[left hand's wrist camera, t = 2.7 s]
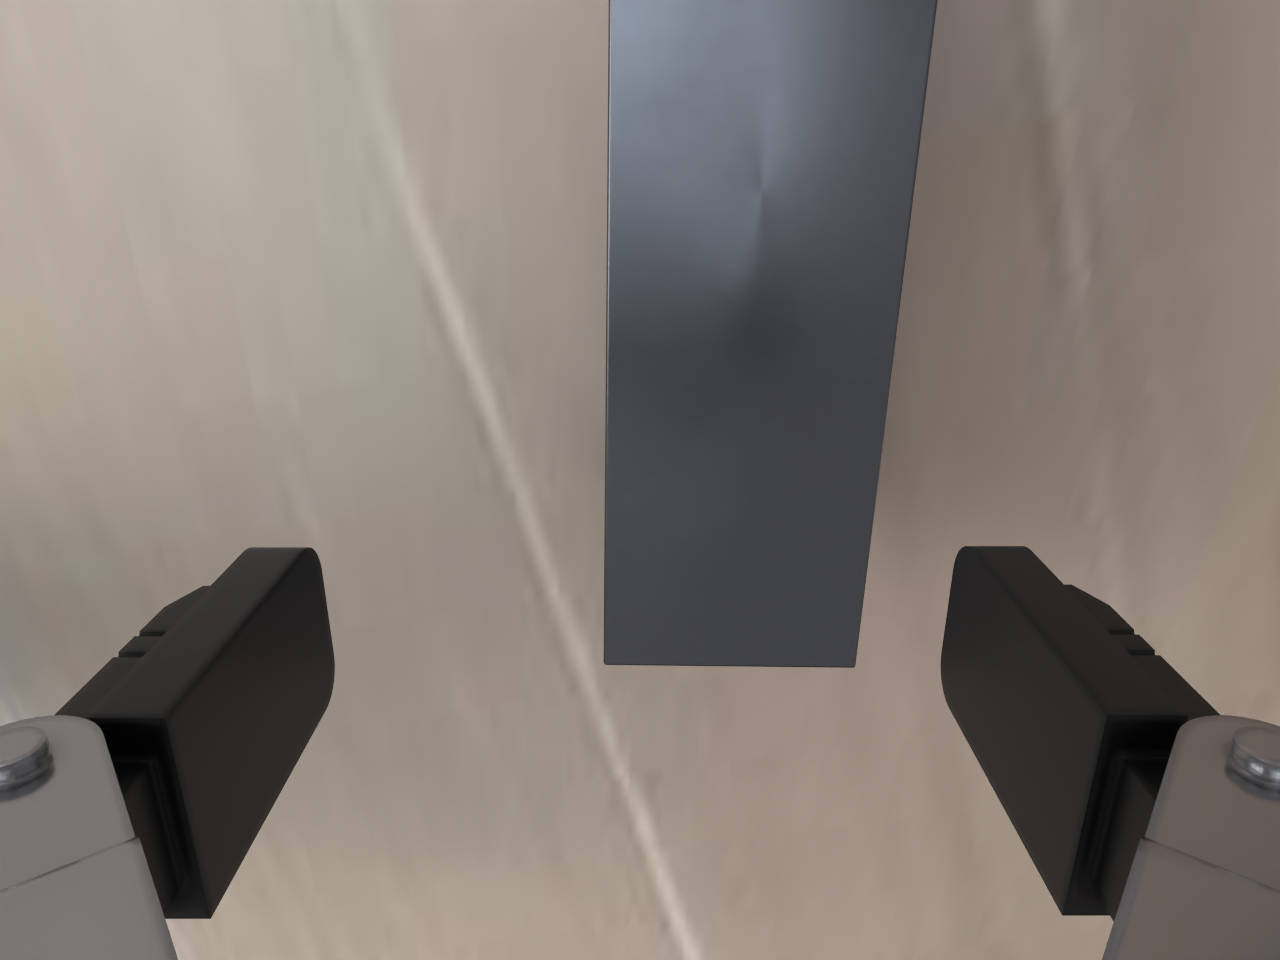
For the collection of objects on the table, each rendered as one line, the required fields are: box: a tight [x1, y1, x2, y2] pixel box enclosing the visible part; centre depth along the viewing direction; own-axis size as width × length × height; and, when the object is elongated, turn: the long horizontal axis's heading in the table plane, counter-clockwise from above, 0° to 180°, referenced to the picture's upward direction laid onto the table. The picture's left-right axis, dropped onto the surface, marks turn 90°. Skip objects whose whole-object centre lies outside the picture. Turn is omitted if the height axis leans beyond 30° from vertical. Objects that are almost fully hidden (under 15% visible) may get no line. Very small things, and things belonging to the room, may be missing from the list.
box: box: [604, 0, 937, 668], centre depth 23 cm, size 22×6×12 cm, turn 179°
